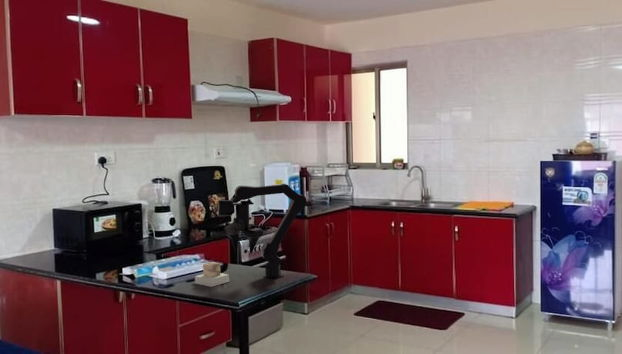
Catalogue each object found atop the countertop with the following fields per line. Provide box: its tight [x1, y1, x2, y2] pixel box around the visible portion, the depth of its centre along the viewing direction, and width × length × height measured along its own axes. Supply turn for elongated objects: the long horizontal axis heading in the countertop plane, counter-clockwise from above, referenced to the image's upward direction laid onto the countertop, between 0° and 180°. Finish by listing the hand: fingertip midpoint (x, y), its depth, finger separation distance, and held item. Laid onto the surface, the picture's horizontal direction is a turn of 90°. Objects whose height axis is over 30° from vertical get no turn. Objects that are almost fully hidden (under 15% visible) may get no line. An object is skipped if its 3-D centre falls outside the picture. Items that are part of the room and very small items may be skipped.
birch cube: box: [202, 261, 221, 277], centre depth 243 cm, size 5×5×5 cm
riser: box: [194, 272, 230, 288], centre depth 243 cm, size 10×10×3 cm
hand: (243, 251), depth 247 cm, fingers open, 9 cm apart
